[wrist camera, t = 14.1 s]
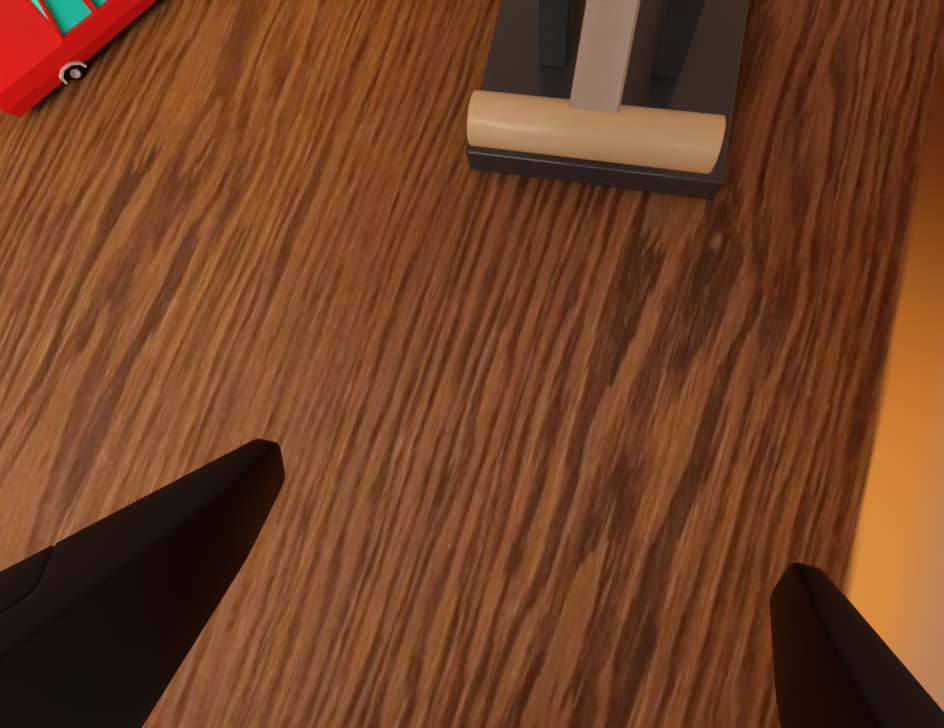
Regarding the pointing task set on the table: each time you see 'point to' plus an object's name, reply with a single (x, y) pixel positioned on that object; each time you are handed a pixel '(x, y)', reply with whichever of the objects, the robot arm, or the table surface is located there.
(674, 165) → the lever
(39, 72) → the toy car
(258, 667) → the table surface
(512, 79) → the bracket
